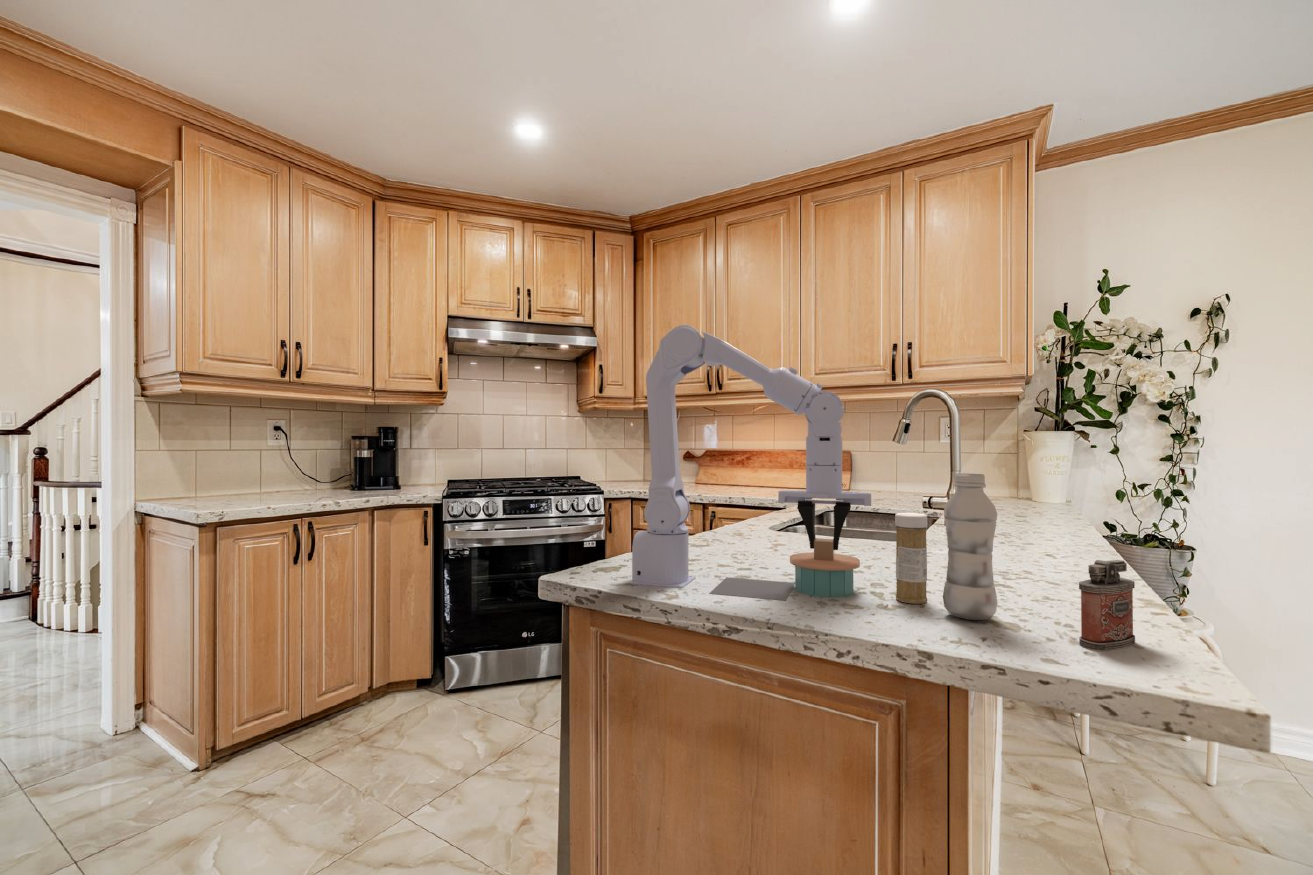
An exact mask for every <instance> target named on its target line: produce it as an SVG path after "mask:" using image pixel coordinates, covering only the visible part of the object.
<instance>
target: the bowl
mask: <svg viewBox="0 0 1313 875" xmlns="http://www.w3.org/2000/svg"><path fill="white" fill-rule="evenodd" d="M794 568H795V569H794V578H795V580H794V583H795V585H794V586H795V588H794V589H795V590H796V591H798V592H799V593H801V594H804V595H809V596H813V597H819V598H820V597H821V598H844V597H849V596H852V595H854V569H852V570H842V571H828V570H815V569H807V568H802V567H798V566H795V565H794Z"/></svg>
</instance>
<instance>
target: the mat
mask: <svg viewBox="0 0 1313 875" xmlns="http://www.w3.org/2000/svg"><path fill="white" fill-rule="evenodd" d="M794 586H795V582H789V581H777V580H765V579H753V578H752V579H751V578H740V577H739V578H738V577H728V576H727V577H725V578H724V579H723V580H722V581H720V582H719V584H718V585H716V586H715V587H714V588H713V589H712V590H711V591H710V592H709V593H708V594H709V595H717V596H726V597H727V596H728V597H729V596H730V597H739V598H751V599H760V600H761V599H762V600H772V601H784V602H786V601H787V599H788V597H789V596H790V594H791V592H792V591H793V588H794Z"/></svg>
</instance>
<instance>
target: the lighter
mask: <svg viewBox="0 0 1313 875" xmlns="http://www.w3.org/2000/svg"><path fill="white" fill-rule="evenodd" d="M1127 564H1128V563H1127V562H1125V560H1121V559H1116V560H1115V559H1114V560H1113V559H1112V560H1107V561H1106V560H1101V559H1096V560H1095V561H1094V563H1093V564H1088V574H1089V579H1085V580H1082V581H1079V582H1078V590H1080V610H1081V611H1080V612H1081V613H1080V614H1081V615H1080V616H1081V617H1080V618H1081V619H1080V622H1081V626H1080V627H1081V628H1080V629H1081V630H1080V631H1081V633H1080V634H1081V636H1079V641H1078V642H1079V644H1078V645H1079V646H1080V647H1082V648H1084V649H1088V650H1092V651H1097V652H1104V651H1105V652H1107V651H1116V650H1121V649H1125V648H1130V647H1132V646H1133V645H1135V644H1136V635H1135V634H1134V619H1133V618H1134V616H1133V615H1134V614H1133V613H1134V608H1133V607H1134V605H1133V603H1134V602H1133V601H1134V600H1133V598H1134V597H1133V596H1134V594H1133V589H1135V586H1136V584H1135V582H1136V581H1134V580H1132V579H1129V578H1122V577H1121V574H1119V573H1123V572H1127V571H1128V570H1127V569H1128V568H1127Z"/></svg>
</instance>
